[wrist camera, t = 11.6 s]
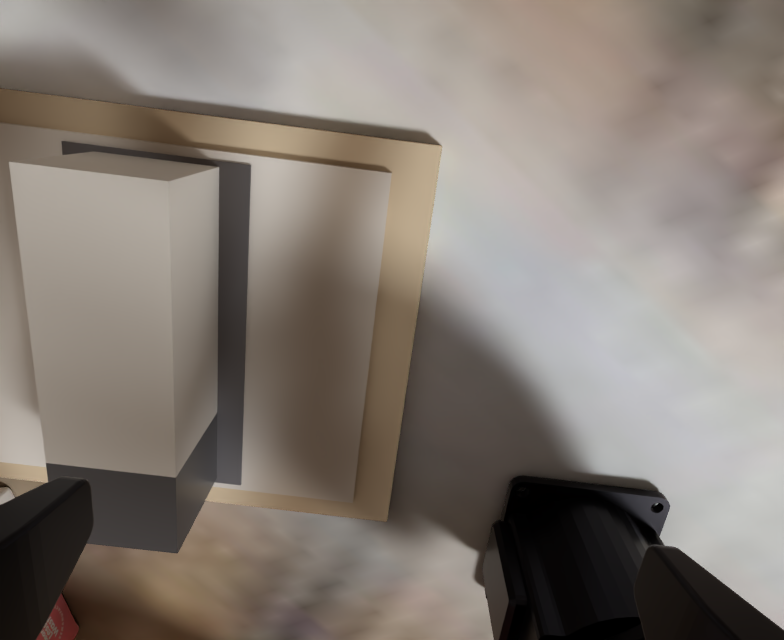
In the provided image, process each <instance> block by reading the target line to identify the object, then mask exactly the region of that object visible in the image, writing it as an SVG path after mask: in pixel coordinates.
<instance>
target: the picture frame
mask: <svg viewBox="0 0 784 640" xmlns="http://www.w3.org/2000/svg"><path fill="white" fill-rule="evenodd" d="M93 151H95V152H103V153H111V154H119V155H127V156H135V157H143V158H151V159H159V160H167V161H175V162H183V163H191V164H199V165H207V166H216V167H219V259H218V394H217V479H216V481H215V483H214V484H213V486H212V488H211V490H210V492H209V494H208V496H207V498H206V500H205V501H210V502H219V503H228V504H236V505H245V506H254V507H262V508H271V509H280V510H288V511H297V512H306V513H314V514H323V515H331V516H340V517H349V518H357V519H366V520H375V521H383V522H387V518H388V511H389V504H390V498H391V491H392V484H393V477H394V470H395V464H396V457H397V450H398V443H399V436H400V430H401V423H402V416H403V409H404V403H405V396H406V389H407V382H408V375H409V369H410V362H411V355H412V348H413V341H414V335H415V328H416V321H417V314H418V308H419V301H420V294H421V287H422V280H423V274H424V267H425V260H426V253H427V246H428V240H429V233H430V226H431V219H432V213H433V206H434V199H435V192H436V185H437V179H438V172H439V165H440V158H441V151H442V146H441V145H435V144H427V143H419V142H412V141H404V140H396V139H388V138H381V137H373V136H365V135H358V134H350V133H342V132H334V131H327V130H319V129H311V128H303V127H296V126H288V125H280V124H273V123H265V122H257V121H249V120H242V119H234V118H226V117H219V116H211V115H203V114H195V113H188V112H180V111H172V110H164V109H157V108H149V107H141V106H134V105H126V104H118V103H110V102H103V101H95V100H87V99H80V98H72V97H64V96H56V95H49V94H41V93H33V92H25V91H18V90H10V89H2V88H0V477H3V478H12V479H20V480H29V481H37V482H46V483H47V482H48V477H47V469H46V461H45V452H44V444H43V436H42V428H41V420H40V412H39V403H38V395H37V387H36V379H35V371H34V363H33V355H32V346H31V338H30V330H29V322H28V314H27V306H26V298H25V289H24V281H23V273H22V265H21V257H20V249H19V241H18V232H17V224H16V216H15V208H14V200H13V192H12V183H11V175H10V167H9V162H10V161H19V160H27V159H35V158H43V157H52V156H60V155H68V154H76V153H85V152H93Z"/></svg>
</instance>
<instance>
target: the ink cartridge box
mask: <svg viewBox="0 0 784 640" xmlns="http://www.w3.org/2000/svg"><path fill="white" fill-rule="evenodd" d="M14 498H15V496H14V494H13V493H12V491H11V489H10V488H8V487H1V488H0V505H1V504H3V503H5V502H7V501H10V500H12V499H14ZM78 631H79V626H78V625H77V624H76V622H75V620H74V618H73V616H72V614H71V612H70V610H69V608H68V606H67V604H66V602H65V600H64V598H63V596H62V594H61V595H60V597H59V598H58V600H57V602H56V604H55V606H54V608H53V610H52V612H51V614H50V616H49V618H48V620H47V622H46V623H45V625H44V627H43V629H42V631H41V632H40V634H39V636H38V637H37V639H36V640H73V639H74V638H75V636H76V635H77V633H78Z"/></svg>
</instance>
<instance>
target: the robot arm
mask: <svg viewBox="0 0 784 640" xmlns="http://www.w3.org/2000/svg"><path fill="white" fill-rule="evenodd" d="M520 487H526V489H525V490H523V491H518V489H519V488H520ZM655 503H658V505H656V506H652V505H653V504H655ZM651 506H652V507H651ZM669 508H670V505H669V502H668V500H667V499H666V498H665V496H664V495H663V494H662V493H660V492H657V491H649V490H640V489H632V488H623V487H615V486H606V485H598V484H589V483H581V482H572V481H564V480H555V479H547V478H538V477H530V476H517V477H515V478H513V479H512V480H511V481H510V483H509V486H508V491H507V495H506V499H505V503H504V507H503V512H502V516H501V520H497V521H496V522H495V523H494V524H493V525H492V529H491V533H490V537H489V542H488V546H487V550H486V555H485V559H484V563H483V568H482V571H483V577H484V583H485V594H486V598H487V601H488V607H489V613H490V619H491V625H492V631H493V637H494V640H784V630H783V629H781V628H780V627H779V626H778V625H776V624H775V623H774V622H772V621H771V620H770V619H769V618H767V617H766V616H765V615H763V614H762V613H761V612H760V611H758V610H757V609H756V608H754V607H753V606H752V605H751V604H749V603H748V602H747V601H745V600H744V599H743V598H742V597H740V596H739V595H738V594H736V593H735V592H734V591H732V590H731V589H730V588H729V587H727V586H726V585H725V584H723V583H722V582H721V581H720V580H718V579H717V578H716V577H714V576H713V575H712V574H711V573H709V572H708V571H707V570H705V569H704V568H703V567H702V566H700V565H699V564H698V563H696V562H695V561H694V560H692V559H691V558H690V557H689V556H687V555H686V554H685V553H683V552H682V551H681V550H679V549H678V548H676V547H671V546H665V545H664V544H663V542H662V540H661V539H660V537H659V536H660V533H661V531H662V528H663V525H664V523H665V520H666V517H667V514H668V512H669ZM93 524H94V516H93V504H92V492H91V485H90V483H89V481H88V480H86V479H84V478H76V477H67V476H62V477H58V478H56V479H54V480H52V481H49V482H47V483H45V484H43V485H41V486H39V487H37V488H35V489H33V490H31V491H28V492H26V493H24V494H22V495H20V496H18V497H16V498H14V499H12V500H10V501H7V502H5V503H3V504H1V505H0V640H36V639H37V637H38V636H39V634H40V632H41V631H42V629H43V627H44V625H45V623H46V622H47V620H48V618H49V616H50V614H51V612H52V610H53V608H54V606H55V604H56V602H57V600H58V598H59V597H60V595H61V593H62V591H63V589H64V587H65V585H66V583H67V581H68V579H69V577H70V575H71V573H72V571H73V569H74V567H75V565H76V563H77V561H78V559H79V557H80V555H81V553H82V551H83V549H84V547H85V545H86V543H87V541H88V539H89V537H90V535H91V532H92V529H93Z"/></svg>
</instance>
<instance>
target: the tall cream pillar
mask: <svg viewBox="0 0 784 640" xmlns="http://www.w3.org/2000/svg"><path fill="white" fill-rule="evenodd" d="M9 167H10V175H11V183H12V192H13V200H14V208H15V216H16V224H17V232H18V241H19V249H20V257H21V265H22V273H23V281H24V289H25V298H26V306H27V314H28V322H29V330H30V338H31V346H32V355H33V363H34V371H35V379H36V387H37V395H38V403H39V412H40V420H41V428H42V436H43V444H44V452H45V461H46V469H47V477H48V482H49V481H52V480H54V479H56V478H58V477H62V476H67V477H76V478H84V479H86V480H88V481H89V483H90V485H91V492H92V504H93V516H94V524H93V529H92V532H91V535H90V537H89V539H88V541H87V543H88V544H97V545H106V546H115V547H124V548H133V549H142V550H151V551H160V552H169V553H178V552H179V550H180V548H181V546H182V544H183V542H184V540H185V538H186V536H187V534H188V533H189V531H190V529H191V527H192V525H193V523H194V521H195V519H196V517H197V515H198V513H199V511H200V509H201V508H202V506H203V504H204V502H205V500H206V498H207V496H208V494H209V492H210V490H211V488H212V486H213V484H214V483H215V481H216V479H217V394H218V259H219V167H216V166H207V165H199V164H191V163H183V162H175V161H167V160H159V159H151V158H143V157H135V156H127V155H119V154H111V153H103V152H95V151H93V152H85V153H76V154H68V155H60V156H52V157H43V158H35V159H27V160H19V161H10V162H9Z"/></svg>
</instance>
